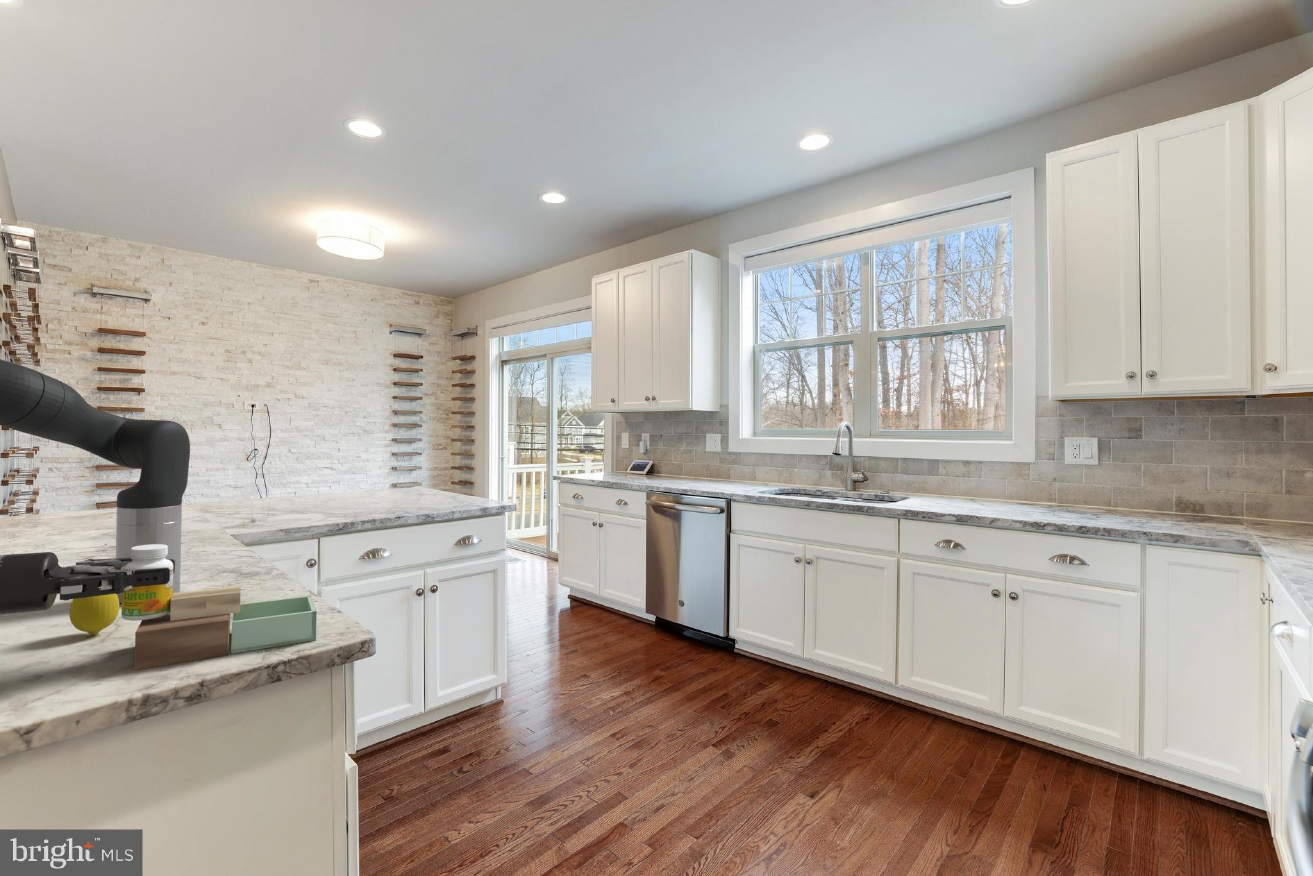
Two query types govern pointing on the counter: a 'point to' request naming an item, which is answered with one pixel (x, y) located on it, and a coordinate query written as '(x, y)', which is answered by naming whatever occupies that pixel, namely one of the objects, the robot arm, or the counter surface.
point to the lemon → (94, 612)
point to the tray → (273, 623)
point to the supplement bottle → (148, 598)
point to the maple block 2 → (223, 601)
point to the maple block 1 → (188, 605)
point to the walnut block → (180, 640)
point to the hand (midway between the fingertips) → (171, 570)
